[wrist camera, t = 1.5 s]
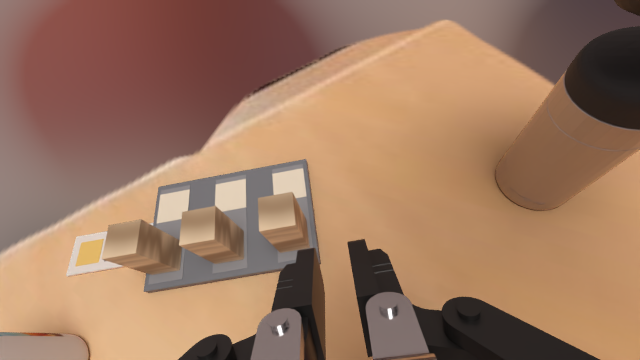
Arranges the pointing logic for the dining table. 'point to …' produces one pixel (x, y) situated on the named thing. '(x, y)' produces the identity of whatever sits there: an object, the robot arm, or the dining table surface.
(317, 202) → the dining table surface
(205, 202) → the toggle board
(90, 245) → the card
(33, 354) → the milk bottle
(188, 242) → the block
